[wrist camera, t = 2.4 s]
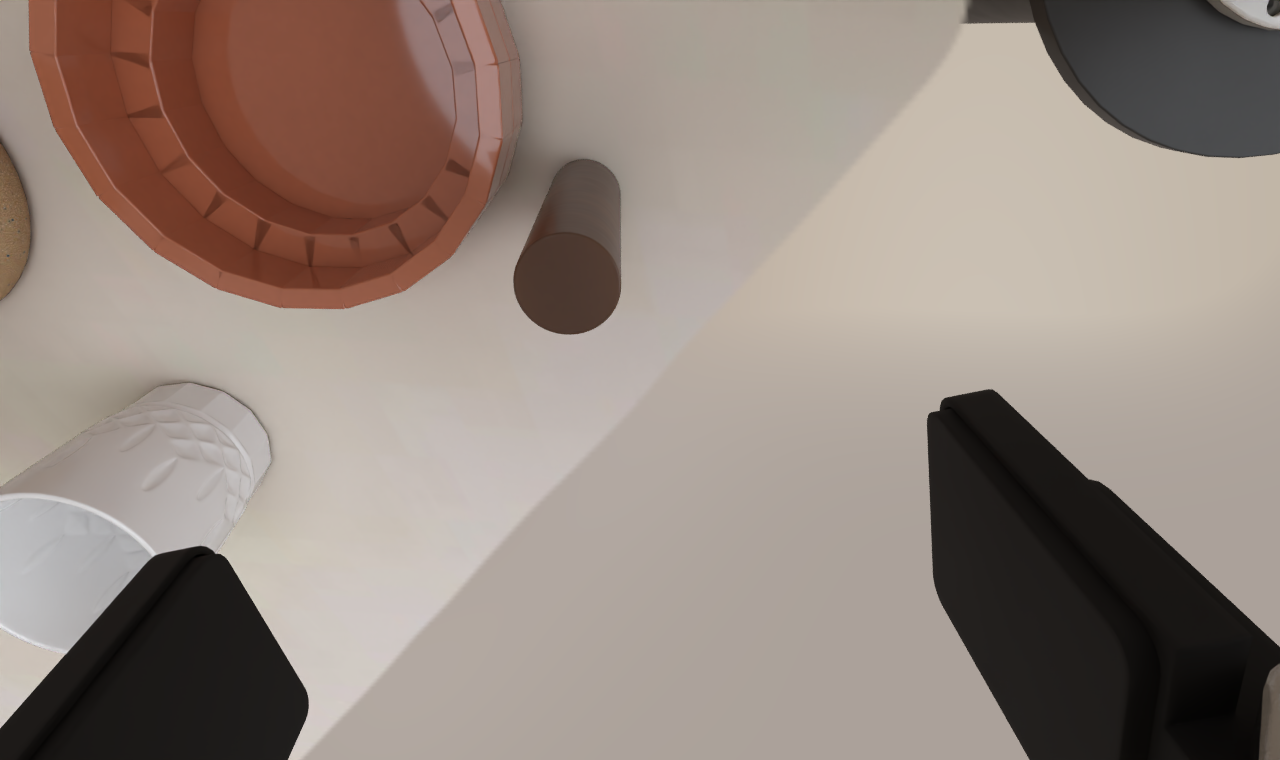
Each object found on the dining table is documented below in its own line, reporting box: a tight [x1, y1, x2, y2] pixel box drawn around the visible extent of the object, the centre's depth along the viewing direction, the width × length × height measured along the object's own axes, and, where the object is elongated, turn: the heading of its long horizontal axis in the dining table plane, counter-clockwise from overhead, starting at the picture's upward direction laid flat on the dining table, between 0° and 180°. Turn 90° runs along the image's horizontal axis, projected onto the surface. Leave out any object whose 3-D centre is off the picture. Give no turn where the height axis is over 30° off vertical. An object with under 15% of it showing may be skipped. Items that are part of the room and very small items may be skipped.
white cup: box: [0, 383, 271, 654], centre depth 31 cm, size 8×8×10 cm
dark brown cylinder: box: [513, 159, 621, 334], centre depth 25 cm, size 3×3×12 cm
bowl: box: [29, 0, 522, 309], centre depth 26 cm, size 15×15×6 cm
